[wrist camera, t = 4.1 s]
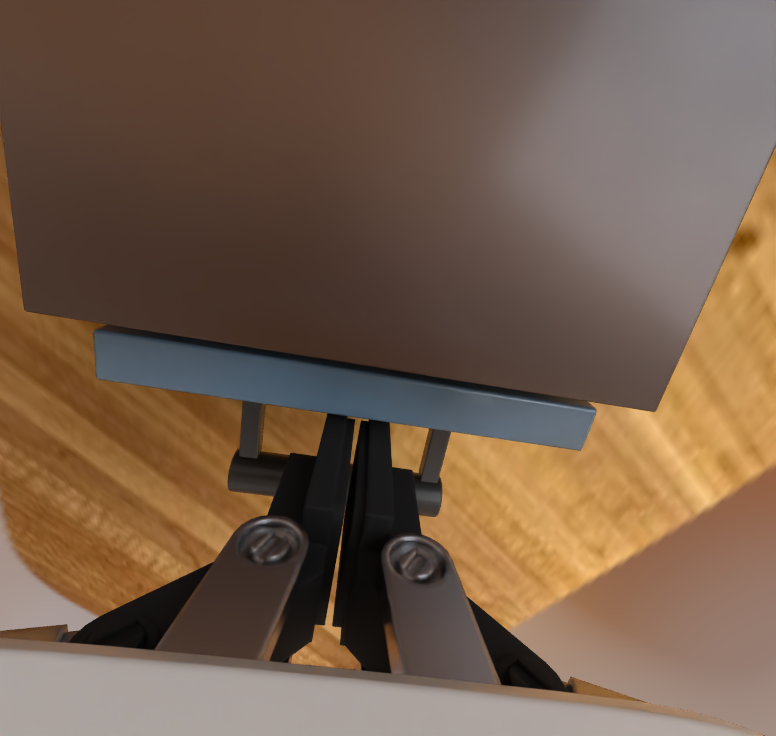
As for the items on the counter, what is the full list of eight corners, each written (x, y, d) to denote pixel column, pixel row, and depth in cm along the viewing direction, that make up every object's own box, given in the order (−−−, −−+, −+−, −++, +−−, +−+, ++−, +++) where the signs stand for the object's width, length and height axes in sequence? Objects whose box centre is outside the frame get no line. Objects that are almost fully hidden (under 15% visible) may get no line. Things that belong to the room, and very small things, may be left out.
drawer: (465, 444, 20) (524, 596, 12) (218, 408, 19) (105, 549, 11) (604, -45, 14) (922, -397, 6) (242, -140, 12) (16, -738, 5)
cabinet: (510, 307, 19) (656, 413, 9) (217, 255, 17) (23, 311, 8) (638, -136, 13) (1299, -1004, 4) (236, -253, 12) (-259, -1911, 3)
